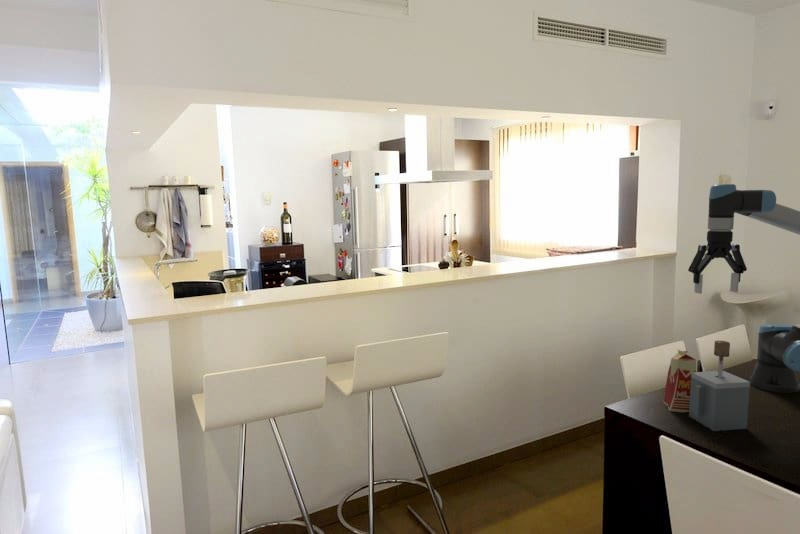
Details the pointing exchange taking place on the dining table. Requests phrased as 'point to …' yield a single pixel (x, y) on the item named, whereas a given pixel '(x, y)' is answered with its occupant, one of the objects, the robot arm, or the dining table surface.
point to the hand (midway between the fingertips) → (716, 292)
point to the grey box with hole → (719, 400)
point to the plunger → (721, 354)
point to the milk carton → (679, 382)
